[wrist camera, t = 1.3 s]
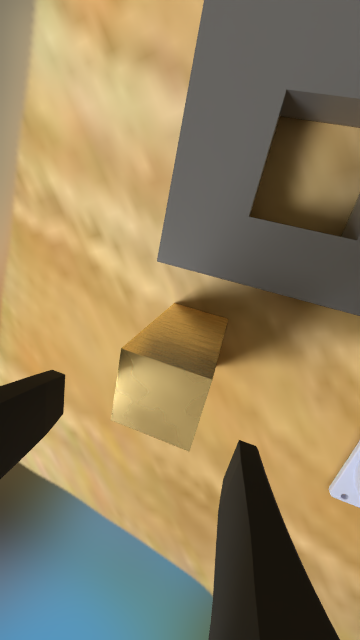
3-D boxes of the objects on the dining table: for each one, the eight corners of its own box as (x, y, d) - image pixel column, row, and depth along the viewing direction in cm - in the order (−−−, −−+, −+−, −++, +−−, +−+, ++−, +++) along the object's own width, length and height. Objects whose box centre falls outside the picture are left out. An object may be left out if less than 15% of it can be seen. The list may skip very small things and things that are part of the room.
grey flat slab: (546, 50, 10) (634, -6, 8) (392, 317, 14) (419, 331, 12) (216, 22, 12) (209, -27, 10) (169, 258, 17) (157, 261, 14)
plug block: (228, 319, 17) (212, 379, 10) (213, 367, 18) (189, 451, 11) (174, 303, 18) (121, 348, 10) (163, 350, 19) (110, 419, 12)
